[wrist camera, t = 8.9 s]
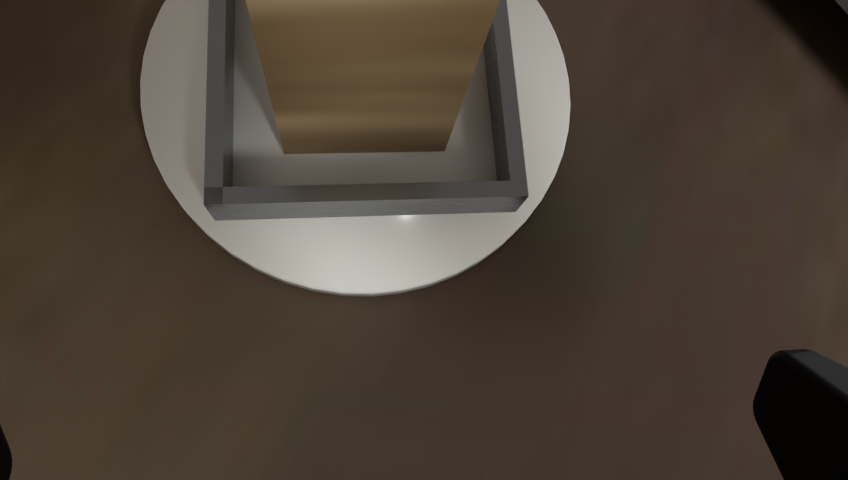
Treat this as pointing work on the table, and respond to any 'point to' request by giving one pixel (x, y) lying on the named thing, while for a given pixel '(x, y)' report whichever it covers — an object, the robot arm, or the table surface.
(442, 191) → the grey square frame
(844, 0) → the tray
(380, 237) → the round white plate
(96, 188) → the table surface
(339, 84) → the wooden block
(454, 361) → the table surface
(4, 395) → the table surface
